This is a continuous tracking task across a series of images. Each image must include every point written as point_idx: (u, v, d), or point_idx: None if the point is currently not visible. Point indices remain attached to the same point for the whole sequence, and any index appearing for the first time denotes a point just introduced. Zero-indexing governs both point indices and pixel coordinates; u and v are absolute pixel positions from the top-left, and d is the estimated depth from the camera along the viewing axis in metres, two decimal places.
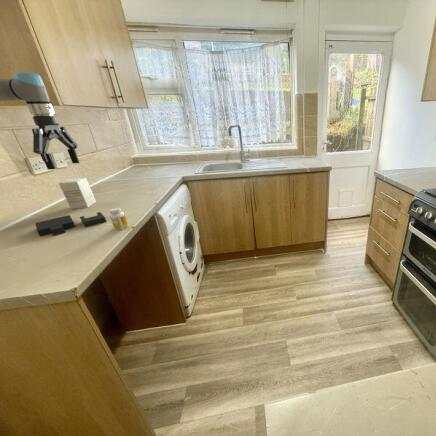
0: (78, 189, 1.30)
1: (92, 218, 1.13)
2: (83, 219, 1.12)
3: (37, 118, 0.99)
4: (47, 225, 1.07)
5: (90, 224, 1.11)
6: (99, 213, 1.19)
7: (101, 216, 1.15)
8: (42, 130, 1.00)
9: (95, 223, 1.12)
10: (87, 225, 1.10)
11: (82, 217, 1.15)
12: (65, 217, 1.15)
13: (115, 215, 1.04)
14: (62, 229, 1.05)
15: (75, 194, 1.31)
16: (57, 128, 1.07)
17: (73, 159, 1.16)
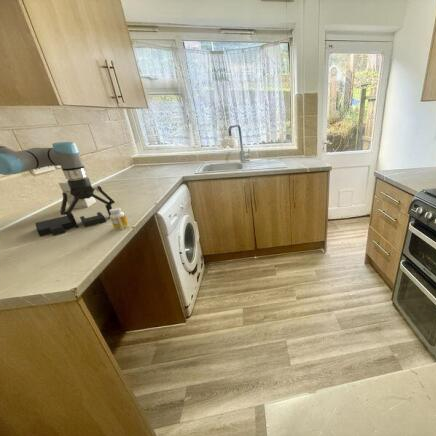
0: None
1: (92, 218, 1.13)
2: (83, 219, 1.12)
3: None
4: (47, 225, 1.07)
5: (90, 224, 1.11)
6: (99, 213, 1.19)
7: (101, 216, 1.15)
8: (70, 193, 1.06)
9: (95, 223, 1.12)
10: (87, 225, 1.10)
11: (82, 217, 1.15)
12: (65, 217, 1.15)
13: (115, 215, 1.04)
14: (62, 229, 1.05)
15: None
16: (89, 189, 1.11)
17: (109, 214, 1.20)
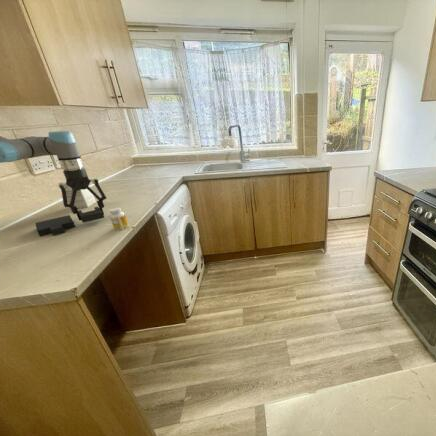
0: None
1: (90, 213, 1.12)
2: (80, 213, 1.11)
3: (63, 172, 1.03)
4: (47, 225, 1.07)
5: (87, 218, 1.10)
6: (97, 208, 1.18)
7: (99, 211, 1.14)
8: (66, 183, 1.05)
9: (92, 218, 1.11)
10: (84, 219, 1.09)
11: (79, 211, 1.13)
12: (65, 217, 1.15)
13: (115, 215, 1.04)
14: (62, 229, 1.05)
15: None
16: (86, 180, 1.09)
17: None
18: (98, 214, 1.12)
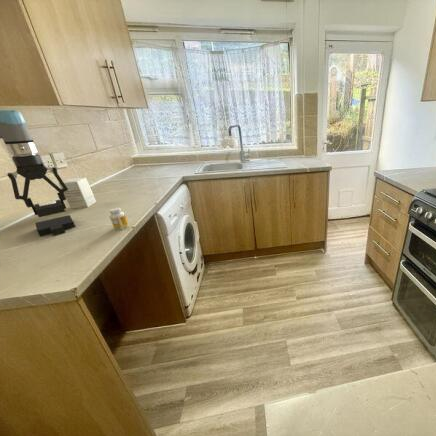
0: (78, 189, 1.30)
1: (48, 206, 0.97)
2: (36, 207, 0.97)
3: (12, 158, 0.89)
4: (47, 225, 1.07)
5: (43, 212, 0.95)
6: (58, 201, 1.03)
7: (59, 204, 1.00)
8: (16, 172, 0.90)
9: (50, 211, 0.97)
10: (40, 214, 0.95)
11: (36, 205, 0.99)
12: (65, 217, 1.15)
13: (115, 215, 1.04)
14: (62, 229, 1.05)
15: (75, 194, 1.31)
16: (41, 168, 0.94)
17: None
18: (57, 207, 0.98)
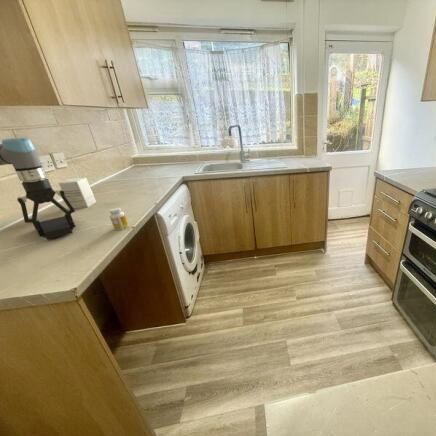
0: (78, 189, 1.30)
1: (55, 228, 1.00)
2: (45, 229, 1.00)
3: (22, 184, 0.92)
4: (47, 225, 1.07)
5: (51, 234, 0.99)
6: (65, 222, 1.06)
7: (66, 225, 1.03)
8: (25, 196, 0.94)
9: (58, 233, 1.00)
10: (48, 236, 0.98)
11: (44, 226, 1.02)
12: (65, 217, 1.15)
13: (115, 215, 1.04)
14: None
15: (75, 194, 1.31)
16: (49, 192, 0.98)
17: None
18: (65, 229, 1.01)
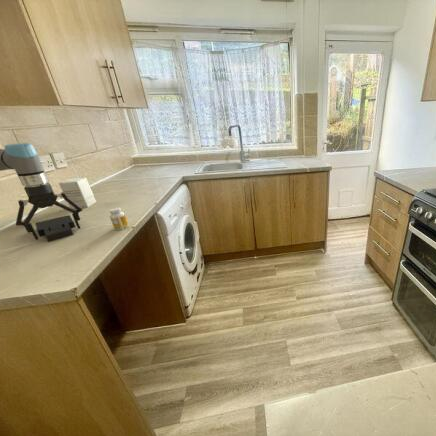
0: (78, 189, 1.30)
1: (57, 231, 1.01)
2: (46, 232, 1.01)
3: None
4: (47, 225, 1.07)
5: (53, 237, 0.99)
6: (66, 224, 1.07)
7: (67, 228, 1.03)
8: (28, 201, 0.94)
9: (59, 236, 1.01)
10: (50, 239, 0.99)
11: (46, 229, 1.03)
12: (65, 217, 1.15)
13: (115, 215, 1.04)
14: None
15: (75, 194, 1.31)
16: (51, 196, 0.98)
17: (76, 224, 1.07)
18: (66, 232, 1.02)
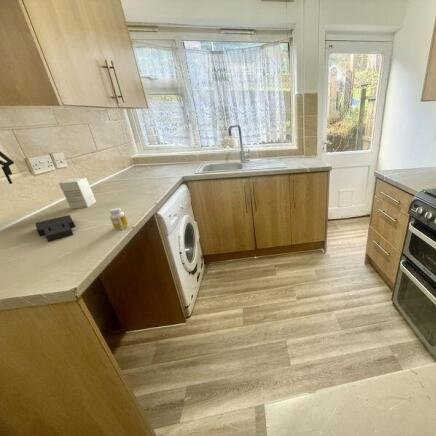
0: (78, 189, 1.30)
1: (57, 231, 1.01)
2: (46, 232, 1.01)
3: None
4: (47, 225, 1.07)
5: (53, 237, 0.99)
6: (66, 224, 1.07)
7: (67, 228, 1.03)
8: None
9: (59, 236, 1.01)
10: (50, 239, 0.99)
11: (46, 229, 1.03)
12: (65, 217, 1.15)
13: (115, 215, 1.04)
14: None
15: (76, 194, 1.31)
16: None
17: (7, 178, 0.96)
18: (66, 232, 1.02)
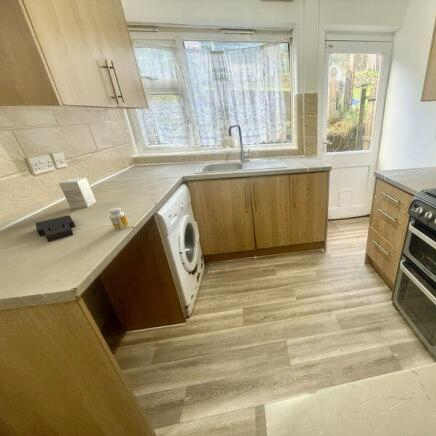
0: (78, 189, 1.30)
1: (57, 231, 1.01)
2: (46, 232, 1.01)
3: None
4: (47, 225, 1.07)
5: (53, 237, 0.99)
6: (66, 224, 1.07)
7: (67, 228, 1.03)
8: None
9: (59, 236, 1.01)
10: (50, 239, 0.99)
11: (46, 229, 1.03)
12: (65, 217, 1.15)
13: (115, 215, 1.04)
14: None
15: (75, 194, 1.31)
16: None
17: None
18: (66, 232, 1.02)
